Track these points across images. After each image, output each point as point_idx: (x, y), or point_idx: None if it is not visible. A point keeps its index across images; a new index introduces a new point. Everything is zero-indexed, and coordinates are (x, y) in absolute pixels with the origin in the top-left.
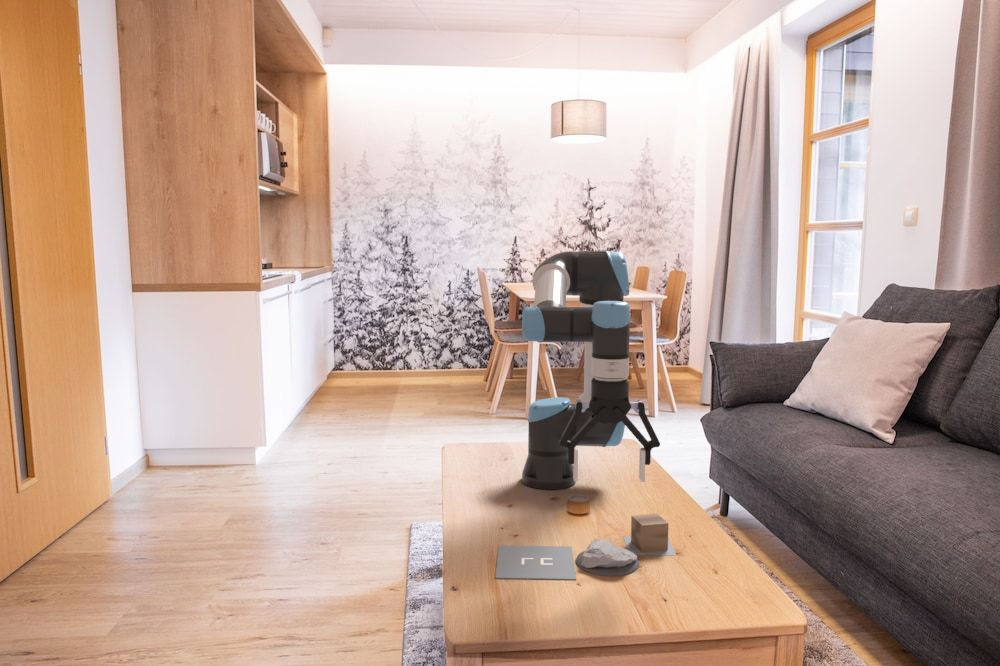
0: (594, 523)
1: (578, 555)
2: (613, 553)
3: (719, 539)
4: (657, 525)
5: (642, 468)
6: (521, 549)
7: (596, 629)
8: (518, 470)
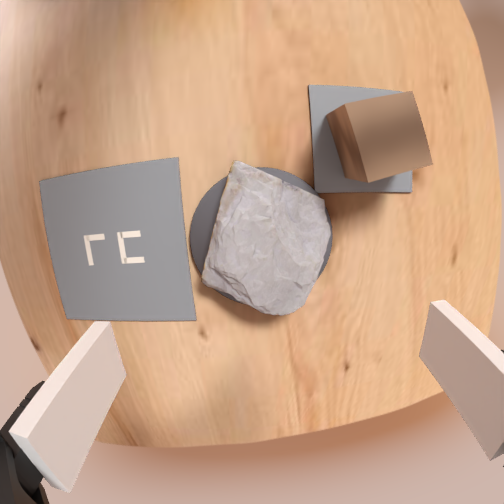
0: (238, 10)
1: (194, 218)
2: (274, 294)
3: (486, 111)
4: (405, 170)
5: (451, 392)
6: (76, 193)
7: (236, 437)
8: None
